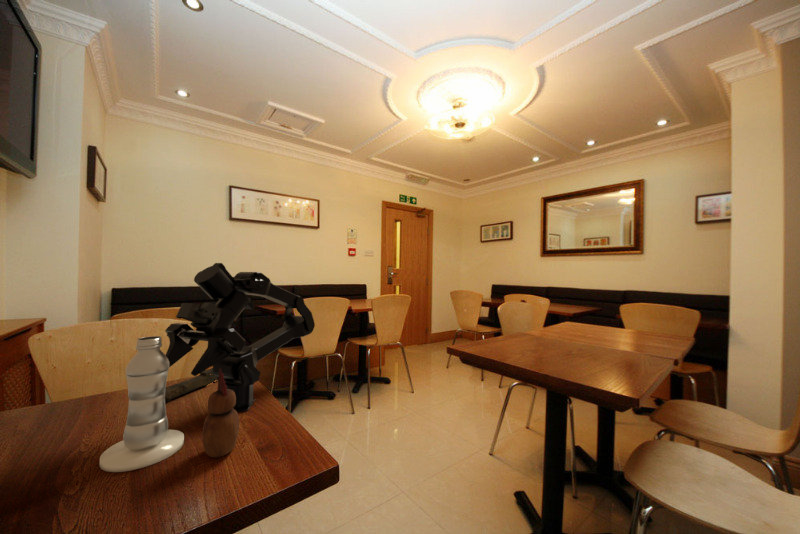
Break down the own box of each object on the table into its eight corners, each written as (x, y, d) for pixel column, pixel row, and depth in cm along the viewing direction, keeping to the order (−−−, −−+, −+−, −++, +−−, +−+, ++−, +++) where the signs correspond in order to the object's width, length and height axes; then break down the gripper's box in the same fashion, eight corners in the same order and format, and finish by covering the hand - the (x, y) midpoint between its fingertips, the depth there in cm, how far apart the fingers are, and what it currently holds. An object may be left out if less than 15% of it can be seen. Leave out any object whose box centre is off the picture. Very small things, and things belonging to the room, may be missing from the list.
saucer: (195, 432, 64) (196, 427, 64) (160, 468, 52) (160, 462, 52) (131, 436, 62) (131, 431, 62) (79, 475, 50) (79, 469, 50)
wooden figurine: (206, 445, 59) (208, 367, 59) (239, 439, 61) (241, 364, 62) (198, 465, 53) (201, 378, 53) (236, 458, 55) (238, 374, 55)
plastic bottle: (175, 435, 60) (179, 334, 61) (150, 455, 54) (154, 341, 54) (141, 436, 60) (145, 334, 61) (111, 456, 53) (116, 342, 54)
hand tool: (162, 407, 76) (162, 388, 76) (150, 404, 77) (151, 386, 77) (226, 382, 94) (226, 366, 94) (216, 380, 95) (216, 365, 95)
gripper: (175, 288, 71) (115, 346, 60) (235, 290, 64) (180, 355, 54) (206, 317, 78) (158, 374, 67) (263, 322, 72) (219, 385, 61)
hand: (177, 372), depth 62 cm, fingers open, 9 cm apart
